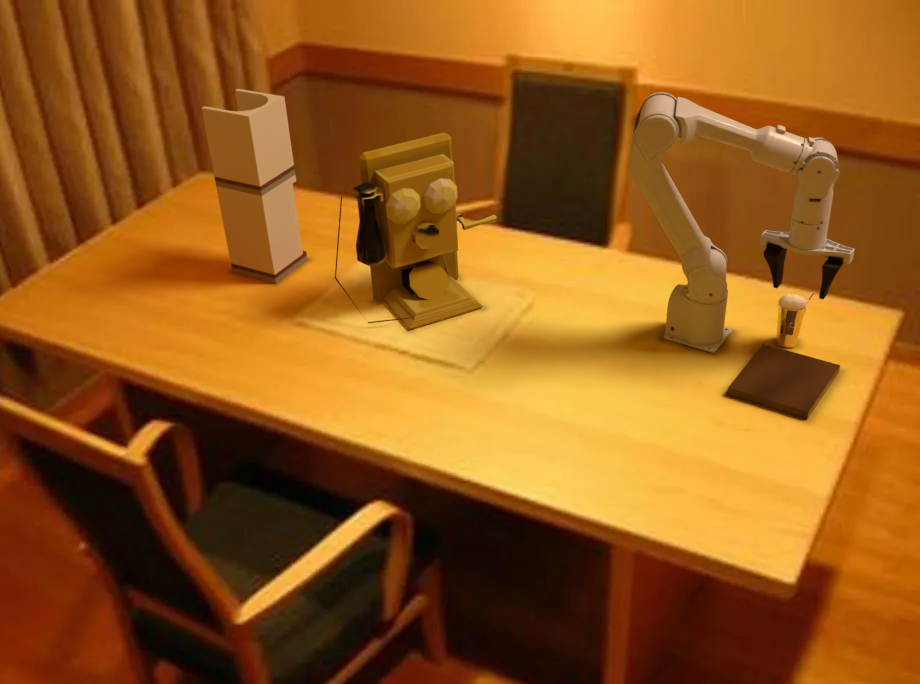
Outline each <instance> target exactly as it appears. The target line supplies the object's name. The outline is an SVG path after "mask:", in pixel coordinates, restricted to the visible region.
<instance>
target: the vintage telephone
mask: <svg viewBox="0 0 920 684" xmlns="http://www.w3.org/2000/svg"><path fill="white" fill-rule="evenodd" d="M358 164H359V173H360V174H359V176H360V184H358V185H356V186H354V187H353V188H352V195H353V196H354V197H355V199H356V200H357V209H358V210H357V211H358V218H359V221H358V222H359V223H358V229H357V235H356V241H355V250H356V260H357V262H359V263H362V264H363V265H366V266H368V267H369V270H370V280H371V288H372V297H373V298H372V299H373V301H374V302H375V303H383V302H385V304H386V305H388V307H389V308H390V309H391V310H392V311H393V312H394V314H395V315H397V317H398V318H391V319H384V320H376V321H375V320H374V321H367V319H366V318H364V319H365V321H367V324H374V323H383V322H393V321H400V320H401V321H402V322H403V323H404V325H405V326H406V327H407V328H408V329H409V330H411V331H412V330H415V329H418V328H420V327H424V326H427V325H430V324H434V323H437V322H440V321H443V320H447V319H450V318H453V317H456V316H457V317H458V316H460V315H463V314H467V313H470V312H473V311H476V310H479V309H483V307H484V305H483V304H482V303H480V302H479V301H478V299H476V298H475V297H474V296H473V294H471V293H470V292H469V291H468V290H467V289H466V288H465V287H464V286H463V285H462V284H461V283H459V282H458V279H459V261H458V251H459V238H458V222H459V224H461V229H462V230H463V231H466V230H469V229H472V228H475V227H478V226H482V225H487V224H488V225H489V224H492V223H493V224H494V223H496V222H497V220H498V216H496V214H492V215H489V216H487V217H484V218H482V219H478V220H473V221H469V222H468V221H467V220H466V219H465V218H464V216H463V215H462V214H461V212H457V200H458V198H459V197H458V196H459V195H458V186H457V184H456V180H455V162H454V161H453V145H452V136H450V135H449V134H448V133H446V132H441V133H435V134H433V135H429V136H424V137H420V138H417V139H412V140H408V141H404V142H400V143H395V144H392V145H388V146H383V147H380V148H375V149H372V150H368V151H364V152H362V153H361V154H360V155H359V156H358ZM349 183H350V181H348V183H347V184H346V185H345V188H344V190H343V191H342V193H341V195H340V204H339V216H338V217H339V218H338V228H337V229H338V231H337V243H336V255H335V267H334V268H335V269H334V280H335V281H336V282H337V283H338V285H339V286H340V287H341V289H342V290H343V292H344V294H346V296H347V297H348V298H349V299H350V301H351V302H352V304H353V305H354V306H355V308H356V309H357V310H358V312H359V313H360V314H361V316H362V317H364V315H363V314H362V312H361V311H360V310H359V308H358V307H357V306H356V304H355V302H354V301H353V300H352V298H351V297H350V295H349V294H348V293H347V291H346V290H345V288H344V287H343V285H342V284H341V282H340V280H339V279H338V278H337V269H338V256H339V242H340V231H341V219H342V218H341V217H342V204H343V196H344V193H345V191H346V189H347V187H348V184H349Z"/></svg>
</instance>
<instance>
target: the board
mask: <svg viewBox="0 0 920 684" xmlns="http://www.w3.org/2000/svg"><path fill="white" fill-rule="evenodd" d="M840 368H841V364H837V363H834V362H831V361H827V360H823V359H821V358H820V359H819V358H816V357H812V356H809V355H805V354H801V353H799V352H794V351H791V350H788V349H783V348H780V347H777V346H773V345H769V344H766V343H762V344H761V346H760V347H759V348H758V349H757V350H756V352H755V353H754V354H753V355H752V357H751V358H750V360H748V362H747V364H746V365H744V366H743V369H742V370H741V371H740V372H739V373H738V375H737V376H736V377H735V379H734V380H733V381H732V382H731V384H730V385H729V386H728V387H727V396H729V397H732V398H735V399H738V400H741V401H746V402H748V403H751V404H754V405H759V406H761V407H764V408H768V409H771V410H774V411H777V412H781V413H784V414H787V415H790V416H794V417H797V418H800V419H804V420H808V419H809V418H810V416H811V414H812V413H813V411H814V410H815V409H816V407H817V405H818V404H819V403H820V401H821V400H822V398H823V397H824V396H825V394H826V392H827V391H828V389H829V388H830V386H831V385H832V383H833V382H834V380H835V379H836V377H838V375H839V373H840V370H841V369H840Z"/></svg>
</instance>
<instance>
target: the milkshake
mask: <svg viewBox="0 0 920 684" xmlns="http://www.w3.org/2000/svg"><path fill="white" fill-rule="evenodd" d="M814 294H815V293H814V292H813V293H812V294H811V295H810V296H809V298H808V300H806V299H805V297H804V296H802V295H800V294H797V293H786V294H784V295H782V296H781V297H779V299H778V302H777V303H778V304H777V325H776V326H777V328H776V344H777V345H778V346H779V347H782V348H786V349H787V348H794V347H795V346H796V345H797V343H798V339H799V335H800V331H801V327H802V323H803V320H804V317H805V313H806V309H807V306H808V303H809V302H810V300H811V299H812V297H813V296H814Z"/></svg>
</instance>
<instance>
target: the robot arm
mask: <svg viewBox="0 0 920 684" xmlns="http://www.w3.org/2000/svg"><path fill="white" fill-rule="evenodd" d="M678 138H680V143H679V145H684V144H686V143H688V142H692V141H693V140H695V139H697V138H704V139H707V140H711V141H714V142H717V143H720V144H724V145H728V146H731V147H733V148H737V149H741V150H744V151H748V153H749V155H750V157H751V160H752V162H755V163H757V164H760V165H763V166H767V167H768V168H772V169H774V170H777V171H780V172H783V173H786V174H789V175H792V176H797V184H796V186H795V189H794V194H793V203H792V211H791V218H790V225H789V231H777V230H776V231H773V230H768V229H765V230H764V231H763V232H762V233H761V234H760V241H759V243H760V244H759V245H760V246H762V247H765V250H764V251H763V258H764V260H765V261H766V263H767V266H768V267H769V270H770V274H771V278H772V287H773V288H774V289H778V288H779V287H780V286H781V285H782V283H783V279H784V269H785V261H786V256H787V252H788V251H791V252H793V253H795V254H800V255H806V256H818V257H823V258H827V259H826V260H825V261H824V263H823V264H822V265H821V275H822V276H821V285H820V290H819V293H818V299H820V300H824V299H825V298H826V297H827V296H828V294H829V290H830V287H831V285H832V283H833V281H834V280H835V277H836V276H837V274H838V273H839V271H840V270H841V268H842V266H843V265H844V264H845V265H850V264H851V263H852V261H853V260H854V255H855V250H856V249H855V248H853V247H849V246H846V245H843V244H841V243H838V242H837V241H833V240H831V239H829V238H828V230H829V226H830V225H829V224H830V220H831V219H830V218H831V210H832V205H833V197H834V187H835V183H836V181H838V179H839V177H840V175H841V171H840V163H839V158H838V154H837V150H836V148H835V146H834V144H833V143H832V142H830V141H828V140H826V138H824V137H812V136H808V137H806V138H805V137H803V136H799V135H797V134H794V133H791V132H788V131H786V127H785V126H784V125H781V124H777V125H776V127H774V126H772V125H766V126H763V127H760V128H758V129H756V128H753V127H751V126H748V125H747V124H744V123H741V122H739V121H737V120H734V119H732V118H729V117H728V116H725V115H722V114H720V113H717V112H715V111H713V110H710V109H708V108H706V107H703V106H701V105H699V104H697V103H695V102H693V101H691V100H689V99H688V98H685V97H682V96H681V97H680V96H677V98H676V96H675V95H673V94H671V93H669V92H664V91H662V92H661V91H658V92H654V93H652V94H649V96H647V97H646V98H645V99H644V100H643V102H642V104H641V105H640V107H639V109H638V111H637V113H636V115H635V117H634V125H633V130H632V134H631V140H630V141H631V142H630V150H629V158H628V164H627V165H628V170H629V171H628V172H629V173H630V175H631V176H632V178H633V181H634V182H635V183H636V186H637V187H638V188H639V190H640V192H641V194H642V195H643V197H644V199H645V200H646V202H647V203H648V205H649V206H650V209H651V210H652V212H653V214H654V215H655V217H656V219H657V221H658V222H659V224H660V226H661V227H662V229H663V231H664V233H665V235H666V236H667V238H668V240H669V241H670V243H671V245H672V247H673V248H674V250H675V252H676V253H677V255H678V257H679V261H680V265H681V269H682V273H683V275H684V276H685V278H686V280H687V284H677V285H676V286H674V288H673V289H672V291H671V293H670V295H669V297H668V302H667V308H666V319H665V333H664V334H663V335H662V336H663V339H664V340H667V341H670V342H674V343H677V344H680V345H684V346H687V347H692V348H694V349H697V350H701V351H705V352H709V353H713V354H714V353H715V352H717V350H718V349H719V348H720V347H721V346H722V344H723V343H724V342H725V341H726V340H727V338H728V337H729V336H730V335H731V334H732V332H733V330H732V329H731V328H728V327H725V323H726V315H727V314H726V313H727V305H728V298H729V297H728V296H729V289H728V283H727V267H728V257H727V255H726V254H725V252H724V251H723V250H722V249H720V248H719V247H717V246H716V245H715V244H713V242H712V240H711V239H710V237H709V236H706V235H704V233H703V232H702V229H701V228H700V226H699V224H698V223H697V221H696V220H695V218H694V216H693V214H692V212H691V211H690V209H689V207H688V205H687V204H686V202H685V200H684V198H683V197H682V195H681V193H680V192H679V190H678V188H677V186H676V185H675V182H674V181H673V179H672V178H671V176H670V174H669V172H668V170H667V169H666V167H665V165H664V164H663V163H664V162H663V159H664V156H665V154H666V153H667V152H668V151H669V150H670V149H671V148H673V146H674V144H675V143H676V142H677V141H678Z"/></svg>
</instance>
